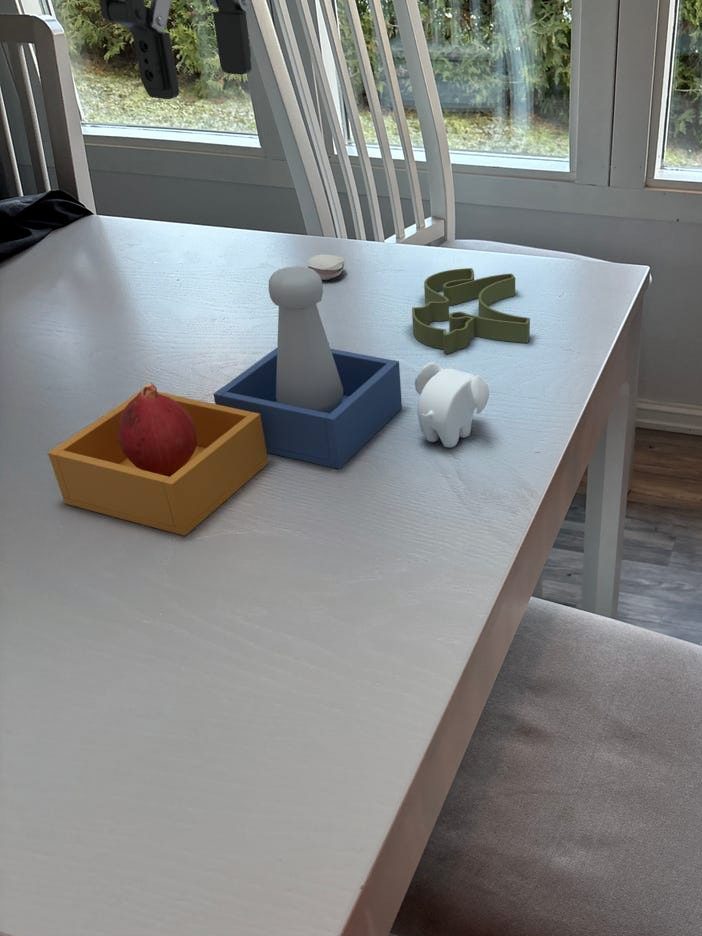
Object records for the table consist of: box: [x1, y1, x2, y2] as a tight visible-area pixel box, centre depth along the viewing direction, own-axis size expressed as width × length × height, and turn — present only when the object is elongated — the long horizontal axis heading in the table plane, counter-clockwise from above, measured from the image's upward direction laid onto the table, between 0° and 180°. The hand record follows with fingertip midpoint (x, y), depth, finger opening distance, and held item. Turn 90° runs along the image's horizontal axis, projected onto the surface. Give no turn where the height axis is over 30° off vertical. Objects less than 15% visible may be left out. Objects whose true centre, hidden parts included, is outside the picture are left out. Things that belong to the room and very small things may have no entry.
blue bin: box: [213, 347, 403, 470], centre depth 84 cm, size 12×12×5 cm
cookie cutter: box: [411, 267, 531, 355], centre depth 102 cm, size 18×12×2 cm, turn 5°
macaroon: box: [306, 253, 345, 281], centre depth 112 cm, size 4×5×2 cm
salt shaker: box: [268, 265, 343, 414], centre depth 81 cm, size 6×6×13 cm
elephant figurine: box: [414, 361, 490, 448], centre depth 82 cm, size 7×8×6 cm
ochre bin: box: [47, 391, 269, 537], centre depth 77 cm, size 12×12×5 cm
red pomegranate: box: [118, 382, 197, 477], centre depth 75 cm, size 6×6×8 cm
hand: (201, 84), depth 66 cm, fingers open, 8 cm apart
